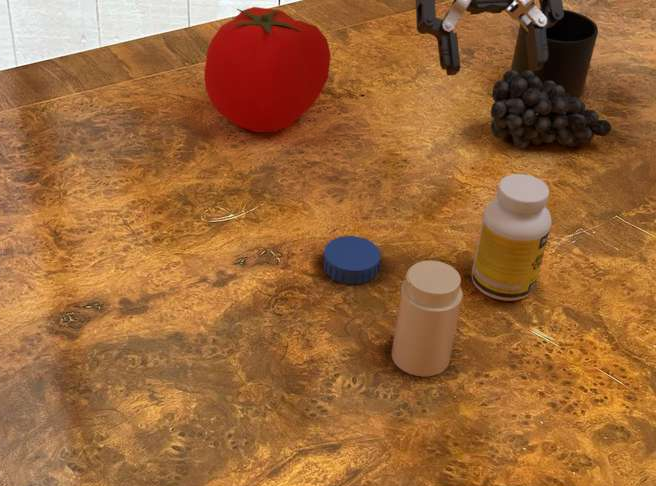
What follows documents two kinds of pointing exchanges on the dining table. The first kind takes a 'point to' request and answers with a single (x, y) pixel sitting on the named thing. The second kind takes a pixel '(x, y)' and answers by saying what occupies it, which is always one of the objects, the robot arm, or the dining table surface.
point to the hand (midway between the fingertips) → (495, 71)
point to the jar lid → (351, 260)
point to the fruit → (541, 112)
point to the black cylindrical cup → (562, 52)
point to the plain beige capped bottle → (427, 318)
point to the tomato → (266, 69)
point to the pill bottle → (512, 239)
